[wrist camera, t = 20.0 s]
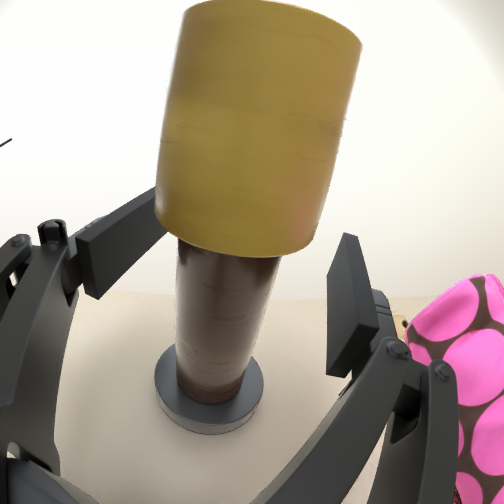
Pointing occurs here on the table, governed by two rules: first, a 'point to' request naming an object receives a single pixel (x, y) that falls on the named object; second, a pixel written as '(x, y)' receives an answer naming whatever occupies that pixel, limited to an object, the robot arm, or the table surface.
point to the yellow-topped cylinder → (242, 185)
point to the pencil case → (470, 376)
